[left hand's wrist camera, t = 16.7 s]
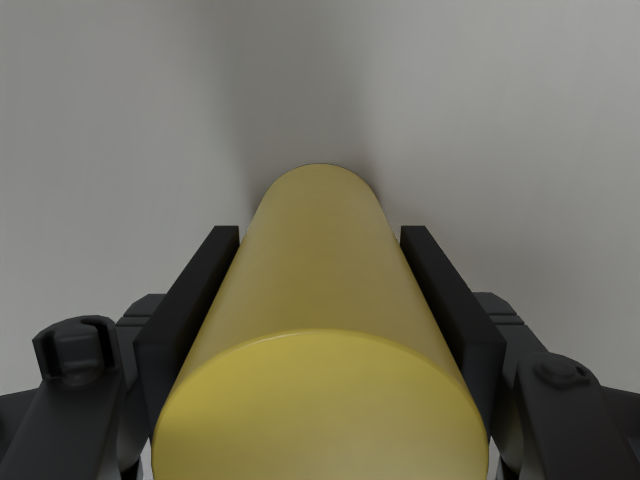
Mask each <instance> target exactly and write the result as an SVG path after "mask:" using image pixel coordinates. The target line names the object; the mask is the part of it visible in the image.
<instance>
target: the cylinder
mask: <svg viewBox="0 0 640 480" xmlns="http://www.w3.org/2000/svg"><path fill="white" fill-rule="evenodd" d="M488 465H489V446H488V439H487V433H486V429H485V426H484V423H483V420H482V417H481V414H480V412H479V410H478V408H477V406H476V404H475V402H474V400H473V398H472V396H471V393H470V391H469V389H468V387H467V385H466V383H465V381H464V379H463V377H462V375H461V373H460V371H459V369H458V366H457V364H456V362H455V360H454V358H453V356H452V354H451V352H450V350H449V348H448V346H447V344H446V341H445V339H444V337H443V335H442V333H441V331H440V329H439V327H438V325H437V323H436V321H435V319H434V316H433V314H432V312H431V310H430V308H429V306H428V304H427V302H426V300H425V298H424V296H423V294H422V291H421V289H420V287H419V285H418V283H417V281H416V279H415V277H414V275H413V273H412V271H411V269H410V266H409V264H408V262H407V260H406V258H405V256H404V254H403V252H402V250H401V248H400V246H399V244H398V241H397V239H396V237H395V235H394V233H393V231H392V229H391V227H390V225H389V223H388V221H387V219H386V216H385V214H384V212H383V210H382V208H381V206H380V204H379V202H378V200H377V198H376V196H375V194H374V192H373V191H372V190H371V188H370V187H369V186H368V185H367V184H366V183H365V182H364V180H362V179H361V178H360V177H359V176H357V175H356V174H354V173H352V172H351V171H349V170H347V169H344V168H342V167H339V166H335V165H330V164H309V165H304V166H300V167H297V168H295V169H292V170H290V171H289V172H287V173H285V174H283V175H282V176H281V177H279V178H278V179H277V180H276V181H275V182H274V183H273V184H272V185H271V186H270V187H269V189H268V190H267V191H266V193H265V195H264V197H263V198H262V200H261V202H260V205H259V207H258V209H257V211H256V213H255V215H254V217H253V219H252V221H251V223H250V225H249V228H248V230H247V232H246V234H245V236H244V238H243V240H242V242H241V244H240V246H239V249H238V251H237V253H236V255H235V257H234V259H233V261H232V263H231V265H230V267H229V270H228V272H227V274H226V276H225V278H224V280H223V282H222V284H221V286H220V288H219V291H218V293H217V295H216V297H215V299H214V301H213V303H212V305H211V307H210V309H209V312H208V314H207V316H206V318H205V320H204V322H203V324H202V326H201V328H200V330H199V332H198V335H197V337H196V339H195V341H194V343H193V345H192V347H191V349H190V351H189V353H188V356H187V358H186V360H185V362H184V364H183V366H182V368H181V370H180V372H179V374H178V377H177V379H176V381H175V383H174V385H173V387H172V389H171V391H170V393H169V395H168V398H167V400H166V402H165V404H164V406H163V408H162V410H161V412H160V415H159V418H158V420H157V423H156V426H155V428H154V434H153V439H152V444H151V467H152V473H153V479H154V480H486V477H487V472H488Z"/></svg>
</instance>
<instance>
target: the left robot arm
mask: <svg viewBox="0 0 640 480" xmlns="http://www.w3.org/2000/svg"><path fill="white" fill-rule="evenodd" d="M239 246H240V241H239V227H238V226H214V228H213V229H212V231H211V232H210V233H209V235H208V236H207V238H206V239H205V240H204V242H203V243H202V245H201V246H200V247H199V249H198V250H197V252H196V253H195V254H194V256H193V257H192V259H191V260H190V262H189V263H188V264H187V266H186V267H185V269H184V270H183V271H182V273H181V274H180V276H179V277H178V278H177V280H176V281H175V283H174V284H173V285H172V287H171V288H170V290H169V291H168V292H167V294H148V295H146V296H144V297H143V298H141V299H139V300H138V301H136V302H134V303H133V304H132V305H131V306H130V307H129V309H128V310H127V311H126V312H125V313H124V315H123V317H121V318H120V319H119V321H118V322H117V323H116V324H115V322H114V321H112V320H111V319H110V318H108V317H104V316H99V315H89V316H79V317H74V318H70V319H66V320H63V321H61V322H58V323H55V324H53V325H51V326H49V327H47V328H46V329H44V330H42V331H41V332H39V333H38V334H37V335H36V336H35V337H34V338H33V339H32V342H33V346H34V350H35V353H36V357H37V361H38V364H39V368H40V372H41V375H42V379H43V380H42V382H41V384H40V386H39V388H36V389H32V390H27V391H22V392H17V393H12V394H7V395H2V396H0V480H143V469H142V462H141V457H140V454H141V452H142V450H143V448H144V446H145V443H146V441H147V439H148V437H149V439H150V445H151V444H152V439H153V434H154V428H155V426H156V423H157V420H158V418H159V415H160V412H161V410H162V408H163V406H164V404H165V402H166V400H167V398H168V395H169V393H170V391H171V389H172V387H173V385H174V383H175V381H176V379H177V377H178V374H179V372H180V370H181V368H182V366H183V364H184V362H185V360H186V358H187V356H188V353H189V351H190V349H191V347H192V345H193V343H194V341H195V339H196V337H197V335H198V332H199V330H200V328H201V326H202V324H203V322H204V320H205V318H206V316H207V314H208V312H209V309H210V307H211V305H212V303H213V301H214V299H215V297H216V295H217V293H218V291H219V288H220V286H221V284H222V282H223V280H224V278H225V276H226V274H227V272H228V270H229V267H230V265H231V263H232V261H233V259H234V257H235V255H236V253H237V251H238V249H239ZM400 248H401V250H402V252H403V254H404V256H405V258H406V260H407V262H408V264H409V266H410V269H411V271H412V273H413V275H414V277H415V279H416V281H417V283H418V285H419V287H420V289H421V291H422V294H423V296H424V298H425V300H426V302H427V304H428V306H429V308H430V310H431V312H432V314H433V316H434V319H435V321H436V323H437V325H438V327H439V329H440V331H441V333H442V335H443V337H444V339H445V341H446V344H447V346H448V348H449V350H450V352H451V354H452V356H453V358H454V360H455V362H456V364H457V366H458V369H459V371H460V373H461V375H462V377H463V379H464V381H465V383H466V385H467V387H468V389H469V391H470V393H471V396H472V398H473V400H474V402H475V404H476V406H477V408H478V410H479V412H480V414H481V417H482V420H483V423H484V426H485V429H486V433H487V439H488V446H489V443H490V437H491V436H492V438H493V440H494V442H495V444H496V446H497V448H498V450H499V452H500V457H499V462H498V467H497V473H496V478H495V480H640V394H638V393H633V392H628V391H623V390H618V389H613V388H608V387H604V386H601V385H600V383H599V382H598V380H597V378H596V377H595V376H594V375H593V373H592V372H591V371H590V370H589V369H588V368H586V367H585V366H583V365H582V364H580V363H579V362H577V361H575V360H572V359H570V358H568V357H565V356H562V355H558V354H554V353H550V352H549V351H548V350H547V349H546V348H545V347H544V345H543V344H542V343H541V342H540V341H539V340H538V338H537V337H536V336H535V335H534V334H533V332H532V331H531V330H530V329H529V328H528V326H527V325H525V324H524V322H523V320H522V319H521V318H520V317H519V316H517V313H516V312H515V311H514V310H513V308H512V307H511V306H510V305H509V304H508V302H506V301H505V300H503V299H501V298H500V297H498V296H496V295H495V294H493V293H491V292H471V290H470V289H469V287H468V286H467V285H466V283H465V282H464V280H463V279H462V278H461V276H460V275H459V273H458V272H457V271H456V269H455V268H454V266H453V265H452V264H451V262H450V261H449V259H448V258H447V256H446V255H445V254H444V252H443V251H442V249H441V248H440V247H439V245H438V244H437V242H436V241H435V240H434V238H433V237H432V235H431V234H430V233H429V231H428V230H427V228H426V227H425V226H401V235H400Z"/></svg>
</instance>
